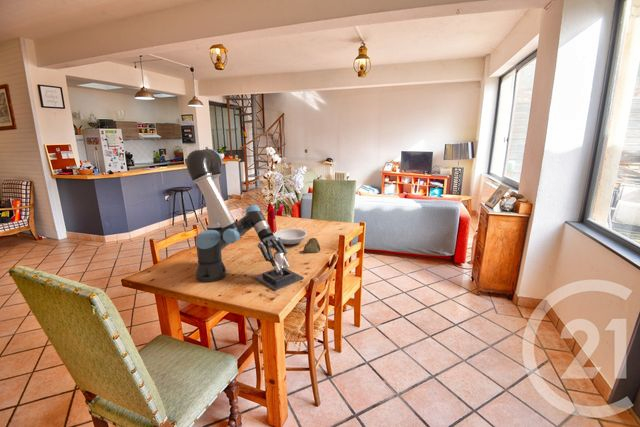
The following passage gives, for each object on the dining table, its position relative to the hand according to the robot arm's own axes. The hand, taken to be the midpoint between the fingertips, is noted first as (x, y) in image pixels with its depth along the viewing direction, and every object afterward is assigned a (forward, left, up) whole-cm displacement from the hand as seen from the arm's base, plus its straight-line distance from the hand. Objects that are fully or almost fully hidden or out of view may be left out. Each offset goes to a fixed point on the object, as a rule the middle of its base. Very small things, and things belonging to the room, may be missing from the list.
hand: (283, 269), depth 152 cm
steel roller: (0, +4, -3) cm, 5 cm away
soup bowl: (+38, +43, -7) cm, 58 cm away
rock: (+38, +21, -7) cm, 44 cm away
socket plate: (0, +4, -7) cm, 8 cm away
